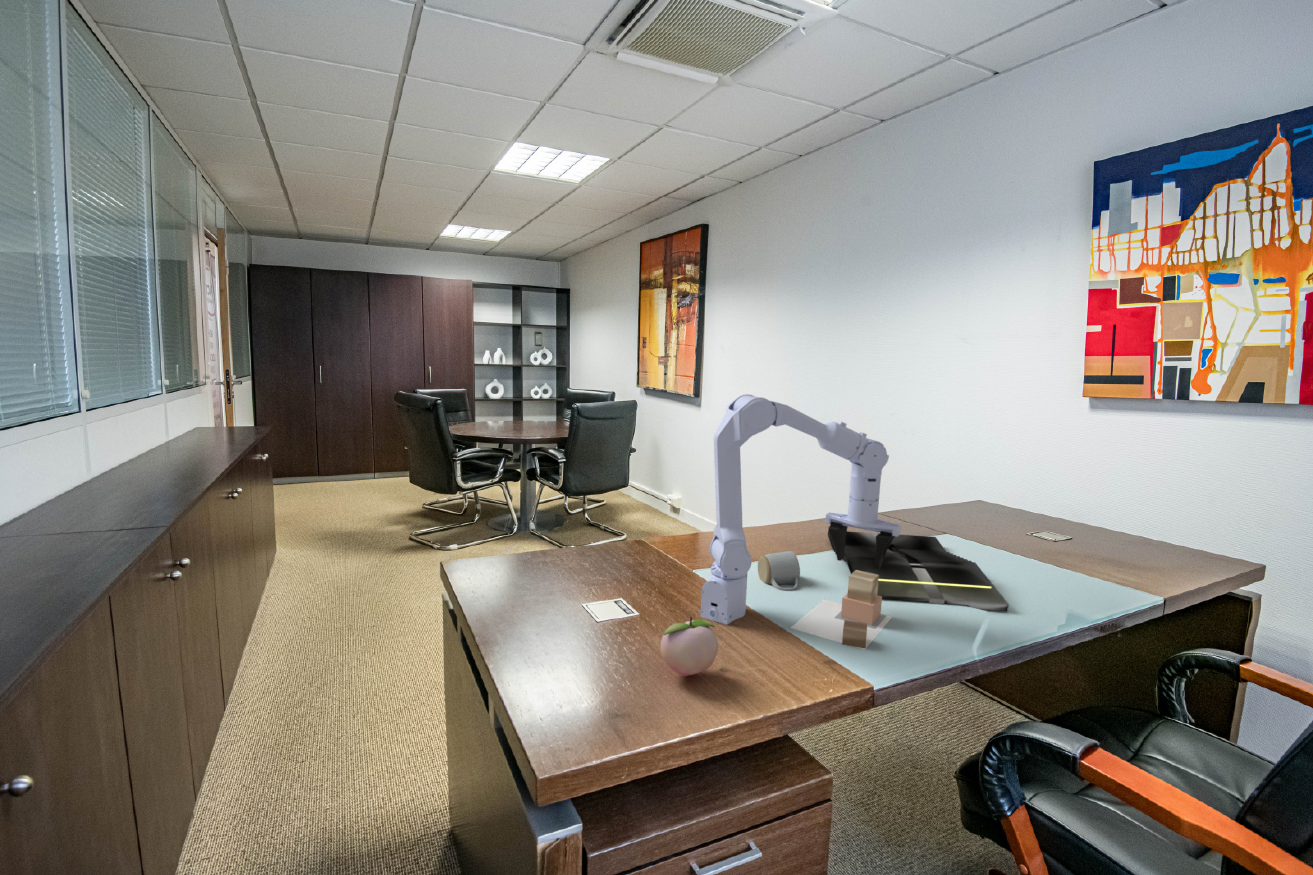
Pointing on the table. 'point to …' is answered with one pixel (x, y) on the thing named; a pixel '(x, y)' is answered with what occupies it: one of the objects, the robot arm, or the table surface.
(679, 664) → the decorative fruit
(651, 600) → the table surface
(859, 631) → the block
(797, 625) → the mat
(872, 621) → the terracotta block
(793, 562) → the ceramic mug
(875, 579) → the maple block
